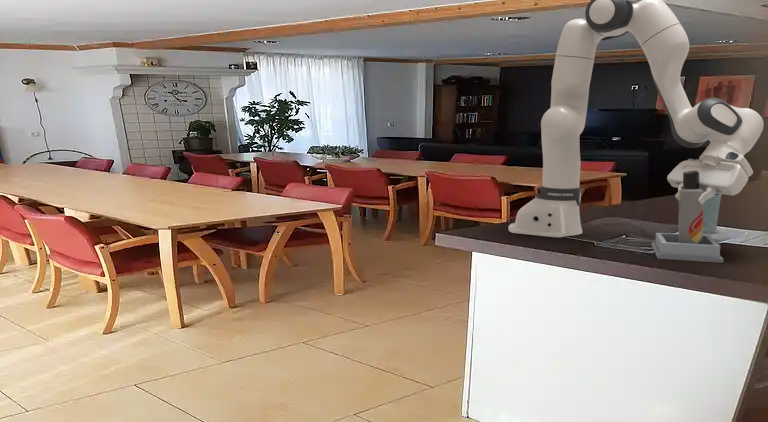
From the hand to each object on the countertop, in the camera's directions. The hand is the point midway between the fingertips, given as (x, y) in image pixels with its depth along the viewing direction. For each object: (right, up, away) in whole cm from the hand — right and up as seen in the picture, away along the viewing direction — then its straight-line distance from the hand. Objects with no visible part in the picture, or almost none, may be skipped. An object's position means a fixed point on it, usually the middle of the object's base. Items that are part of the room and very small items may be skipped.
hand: (688, 200), depth 157 cm
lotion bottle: (+1, -12, +1) cm, 13 cm away
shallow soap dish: (+1, -14, +3) cm, 14 cm away
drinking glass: (+20, -9, +32) cm, 38 cm away
